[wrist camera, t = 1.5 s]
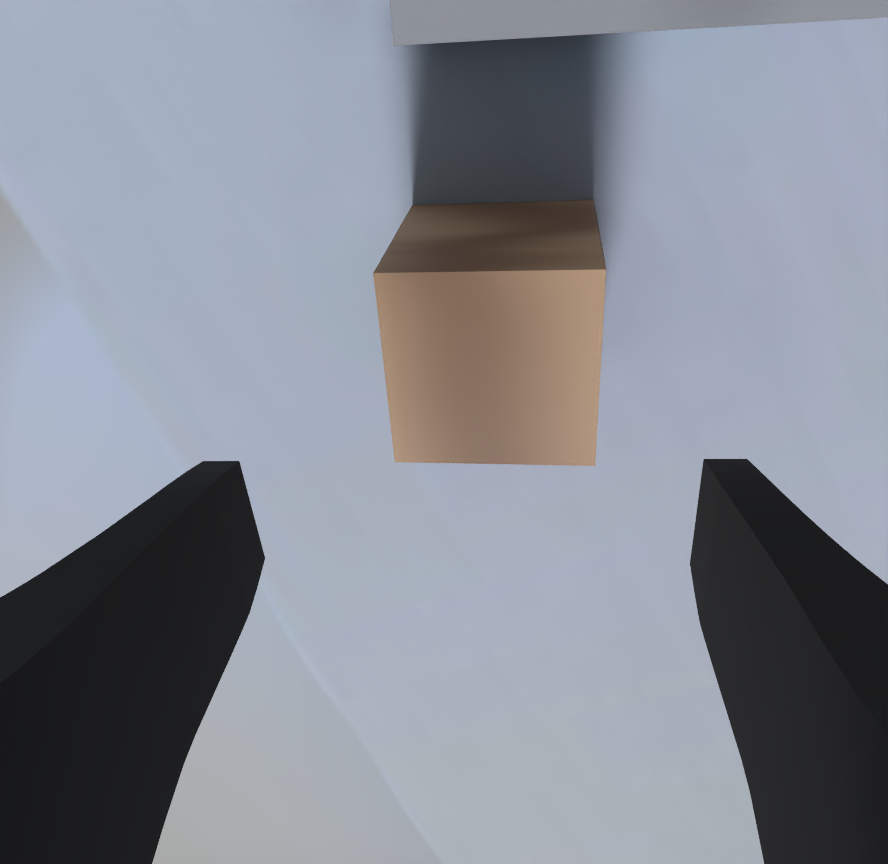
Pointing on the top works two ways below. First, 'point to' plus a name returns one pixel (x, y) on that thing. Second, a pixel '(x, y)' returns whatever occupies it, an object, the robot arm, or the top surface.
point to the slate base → (602, 16)
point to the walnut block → (493, 332)
